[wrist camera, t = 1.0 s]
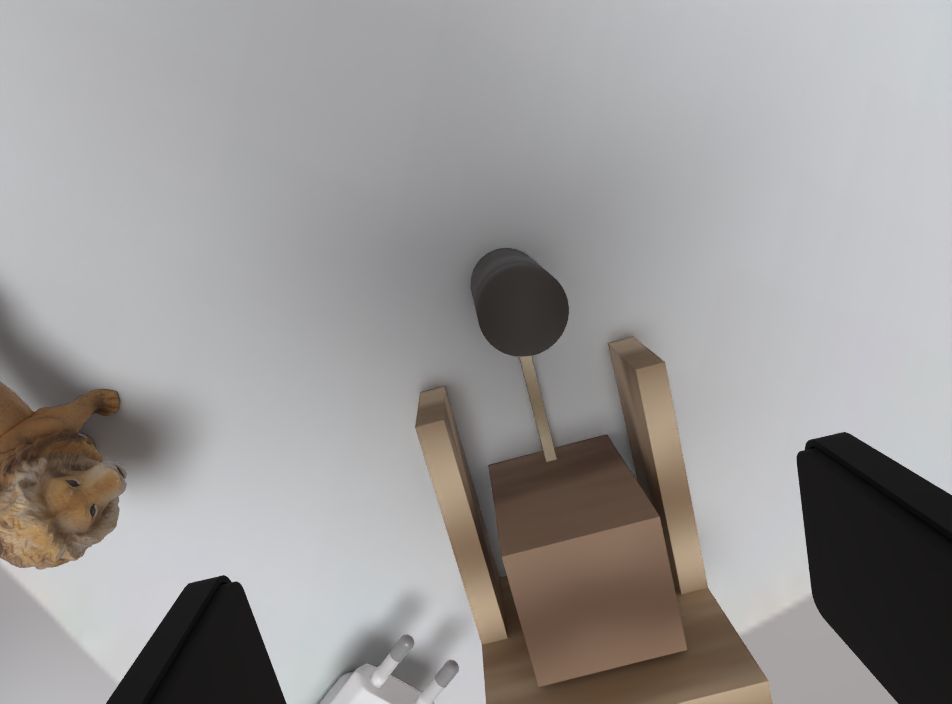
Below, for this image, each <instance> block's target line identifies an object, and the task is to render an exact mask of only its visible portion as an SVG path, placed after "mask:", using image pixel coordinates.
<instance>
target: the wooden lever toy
mask: <svg viewBox="0 0 952 704" xmlns="http://www.w3.org/2000/svg"><path fill="white" fill-rule="evenodd" d="M471 290H472V295H473V299H474V304H475V308H476V313H477V317H478V322H479V325H480V328H481V331H482V333H483V335H484V336H485V338H486V339H487V340H488V342H489V343H490V344H491V345H492V346H494V347H495V348H496V349H498V350H499V351H501V352H503V353H505V354H508V355H512V356H519V357H520V361H521V365H522V369H523V373H524V377H525V381H526V385H527V389H528V393H529V397H530V401H531V405H532V409H533V413H534V416H535V420H536V424H537V428H538V432H539V436H540V440H541V444H542V448H543V451H542V452H538V453H534V454H531V455H527V456H523V457H519V458H515V459H511V460H507V461H504V462H500V463H496V464H492V465H489V472H490V479H491V486H492V493H493V500H494V507H495V514H496V521H497V528H498V535H499V542H500V549H501V556H502V560H503V564H504V567H505V571H506V574H507V578H508V581H509V585H510V588H511V592H512V595H513V599H514V602H515V606H516V609H517V613H518V616H519V620H520V623H521V627H522V630H523V634H524V637H525V641H526V644H527V648H528V651H529V655H530V658H531V662H532V665H533V669H534V673H535V676H536V680H537V683H538V687H541V686H545V685H549V684H553V683H557V682H561V681H565V680H569V679H573V678H577V677H581V676H585V675H589V674H593V673H597V672H601V671H605V670H609V669H613V668H617V667H621V666H625V665H629V664H633V663H637V662H641V661H645V660H649V659H653V658H657V657H661V656H665V655H669V654H673V653H677V652H681V651H685V650H687V646H686V641H685V636H684V631H683V626H682V622H681V617H680V612H679V607H678V602H677V597H676V593H675V588H674V583H673V578H672V573H671V568H670V564H669V559H668V554H667V549H666V544H665V539H664V535H663V530H662V525H661V520H660V516H659V515H658V513H657V511H656V510H655V508H654V507H653V505H652V504H651V502H650V501H649V499H648V498H647V496H646V494H645V493H644V491H643V490H642V488H641V487H640V485H639V484H638V482H637V480H636V479H635V477H634V476H633V474H632V473H631V471H630V470H629V468H628V467H627V465H626V463H625V462H624V460H623V459H622V457H621V456H620V454H619V453H618V451H617V449H616V448H615V446H614V445H613V443H612V442H611V440H610V439H609V437H608V436H607V435H604V436H600V437H596V438H592V439H588V440H585V441H581V442H577V443H573V444H569V445H565V446H561V447H558V448H554V446H553V442H552V438H551V434H550V430H549V426H548V422H547V418H546V414H545V410H544V406H543V402H542V398H541V394H540V390H539V386H538V382H537V378H536V374H535V370H534V366H533V361H532V357H531V356H532V355H536V354H539V353H541V352H543V351H545V350H547V349H548V348H550V347H551V346H552V345H553V344H554V343H555V342H556V341H557V340H558V339H559V338H560V336H561V335H562V333H563V331H564V329H565V327H566V324H567V321H568V314H569V306H568V300H567V297H566V294H565V292H564V290H563V288H562V286H561V285H560V284H559V282H558V281H557V280H556V279H555V278H554V277H553V276H551V275H550V274H549V273H548V272H547V271H545V270H544V269H543V268H542V267H541V266H540V265H538V264H537V263H536V262H535V261H534V260H532V259H531V258H530V257H529V256H528V255H526V254H525V253H523V252H521V251H518V250H516V249H510V248H503V249H497V250H494V251H492V252H490V253H488V254H487V255H485V256H484V257H483V258H482V259H481V260H480V261H479V262H478V263H477V265H476V266H475V268H474V270H473V273H472V277H471Z"/></svg>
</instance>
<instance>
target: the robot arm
mask: <svg viewBox="0 0 952 704" xmlns="http://www.w3.org/2000/svg"><path fill="white" fill-rule="evenodd" d="M797 468H798V477H799V485H800V494H801V503H802V511H803V520H804V528H805V537H806V546H807V554H808V563H809V572H810V580H811V589H812V595H813V599H814V602H815V604H816V606H817V609H818V610H819V612H820V614H821V615H822V617H823V618H824V619H825V620H826V622H827V623H828V624H829V625H830V626H831V627H832V628H833V629H834V631H835V632H836V633H837V634H838V635H839V636H840V637H841V639H842V640H843V641H844V642H845V643H846V644H847V645H848V646H849V648H850V649H851V650H852V651H853V652H854V653H855V654H856V656H857V657H858V658H859V659H860V660H861V661H862V662H863V664H864V665H865V666H866V667H867V668H868V669H869V670H870V672H871V673H872V674H873V675H874V676H875V677H876V679H877V680H878V681H879V682H880V683H881V684H882V685H883V687H884V688H885V689H886V690H887V691H888V692H889V693H890V695H891V696H892V697H893V698H894V699H895V700H896V701H897V702H898V704H952V495H950V494H949V493H947V492H945V491H944V490H942V489H940V488H939V487H937V486H935V485H934V484H932V483H930V482H929V481H927V480H925V479H924V478H922V477H920V476H919V475H917V474H915V473H914V472H912V471H911V470H909V469H907V468H906V467H904V466H902V465H901V464H899V463H897V462H896V461H894V460H892V459H891V458H889V457H887V456H886V455H884V454H882V453H881V452H879V451H877V450H876V449H874V448H872V447H871V446H869V445H867V444H866V443H864V442H862V441H861V440H859V439H857V438H856V437H854V436H852V435H851V434H849V433H846V432H843V433H838V434H834V435H829V436H825V437H821V438H816V439H812V440H809V441H808V442H807V443H806V446H805V450H804V451H800V452H799V453H798V454H797ZM106 704H286V701H285V699H284V696H283V693H282V691H281V688H280V685H279V683H278V680H277V677H276V675H275V672H274V669H273V667H272V664H271V661H270V659H269V656H268V653H267V651H266V648H265V645H264V643H263V640H262V637H261V634H260V632H259V629H258V626H257V624H256V621H255V618H254V616H253V613H252V610H251V608H250V605H249V602H248V600H247V597H246V594H245V592H244V589H243V587H242V585H241V584H240V583H239V582H231V580H230V579H229V578H228V577H226V576H224V575H223V576H219V577H214V578H210V579H206V580H202V581H197V582H193V583H189V584H188V585H187V586H186V587H185V588H184V590H183V591H182V592H181V594H180V595H179V597H178V598H177V600H176V601H175V603H174V604H173V606H172V607H171V609H170V610H169V612H168V613H167V615H166V616H165V617H164V619H163V620H162V622H161V623H160V625H159V626H158V628H157V629H156V631H155V632H154V634H153V635H152V637H151V638H150V640H149V641H148V642H147V644H146V645H145V647H144V648H143V650H142V651H141V653H140V654H139V656H138V657H137V659H136V660H135V662H134V663H133V665H132V666H131V667H130V669H129V670H128V672H127V673H126V675H125V676H124V678H123V679H122V681H121V682H120V684H119V685H118V687H117V688H116V690H115V691H114V692H113V694H112V696H111V697H110V698H109V700H108V701H107V703H106Z"/></svg>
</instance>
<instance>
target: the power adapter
mask: <svg viewBox="0 0 952 704" xmlns="http://www.w3.org/2000/svg"><path fill="white" fill-rule="evenodd" d="M413 646H414V639H413V638H412V637H411V636H410V635H407V634H406V635H403V636H402V637H401V638H400V639H399V641H398V642H397V643H396V645H395V646H394V647H393V648H392V650H391V651H390V653H389V655H388V656H387V657H386V658H385V660H384V661H383V662H382V663H381V665H380V666H378V667H376V666H373V665H370V664H368V663H366V664H364V665H362V666H361V667H359V668H357V669H356V670H355V672H349V673H346V674H344V675H342V676H341V677H340V678H339V679H338V680H337V682H336V683H335V684H334V685H333V686H332V688H331V689H330V690H329V691H328V693H327V694H326V695H325V696H324V698H323V699H322V700H321V702H320V703H319V704H434V700H435V698H436V697H437V696H438V695H439V694H440V692H441V691H442V690H443V689H444V688H445V687H446V686H447V685H448V684H449V682H450V681H451V680H452V679H453V678H454V676H455V675H456V674H457V673H458V671H459V666H458V664H457V662H455V661H454V660H449V661H447V662H446V663H445V665H444V666H443V667H442V668H441V670H440V671H439V672H438V673H437V674H436V676H435V678H434V679H433V680H432V682H431V683H430V684H429V685H428V687H427V688H426V689H425V690H424V691H423V692H421V691H419V690H418V689H416V688H414V687H412V686H410V685H409V684H407V683H405V682H403V681H401V680H400V679H398V678H396V677H394V676H392V675H391V673H392V672H393V670H394V669H395V668H396V667H397V665H398V664H399V663H400V662H401V661H402V660H403V659H404V658H405V656H406V655H407V654H408V653H409V651H410V650H411V649H412V647H413Z"/></svg>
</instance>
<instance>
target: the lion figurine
mask: <svg viewBox="0 0 952 704" xmlns="http://www.w3.org/2000/svg"><path fill="white" fill-rule="evenodd" d="M119 404H120V401H119V399H118V395H117V392H116V391H112V390H94V391H90V392H89V393H87V394H85V395H81V396H80V397H78V398H77V399H76V400H75V401H73V402H71V403H68V404H64V405H60V406H56V407H44V408H41V409H38V410H37V411H35V412H33V411H32V410H31V409H30V408H29V406H28V405H27V404H26V403H25V402H24V401H23V400H22V399H21V398H20V397H19V396H18V395H17V394H16V393H14V392H13V391H12V390H11V389H10V388H8V387H7V386H6V385H4V384H3V383H2V382H0V558H2V559H3V560H6V561H8V562H9V563H10V564H12V565H14V566H17V567H19V568H27V567H32V566H33V567H36V568H37V569H40V570H42V569H45V568H46V567H56V566H59V565H62V564H64V563H67V562H69V561H75V560H77V559H78V558H80V557H82V556H83V555H84V553H85V550H86V549H87V548H88V547H91V546H92V545H93V544H96V543H98V542H100V541H101V540H102V539H103V538H104V537H105V536H106V535H107V534H109V533H110V532H112V531H113V530H114V528H115V527H116V525H117V520H118V516H119V507H118V503H119V497H118V496H119V495H121V494H122V493H123V492H124V491H125V489H126V482H125V478H126V475H127V473H126V470H125V468H124V467H123V466H122V465H121V464H118V463H113V462H108V461H105V462H103V459H102V456H101V455H100V453H99V452H98V451H97V450H96V449H95V444H94V442H93V441H92V439H91V438H89V437H88V436H86V435H84V434H80V433H78V432H79V431H80V429H81V428H82V426H83V425H84V424H85V423H86V421H87V420H88V419H89V418H90V416H91V415H93V414H94V413H98V414H100V415H103V416H108V415H110V414H112V413H113V412H116V411H118V409H119Z"/></svg>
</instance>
